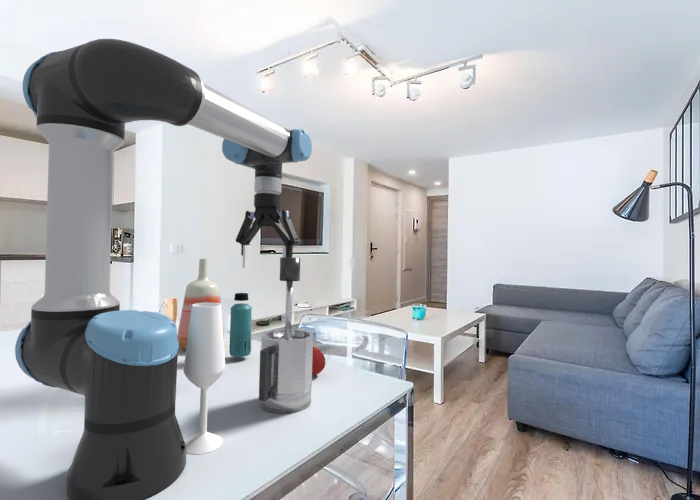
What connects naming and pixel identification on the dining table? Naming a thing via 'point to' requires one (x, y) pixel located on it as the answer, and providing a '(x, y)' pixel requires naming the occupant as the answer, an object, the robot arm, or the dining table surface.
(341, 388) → the dining table surface
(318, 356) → the onion
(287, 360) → the press pot
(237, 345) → the beverage bottle
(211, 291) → the vase
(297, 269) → the plunger
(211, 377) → the champagne flute
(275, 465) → the dining table surface
